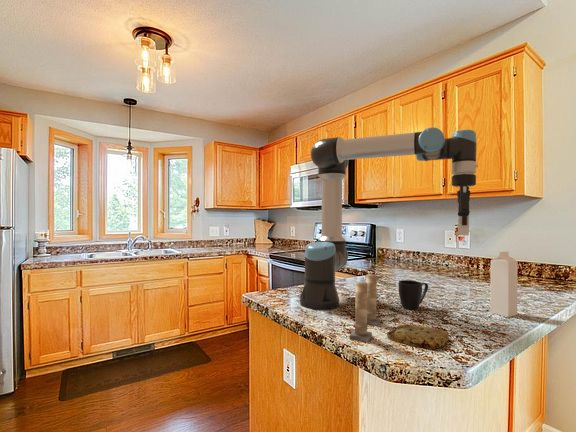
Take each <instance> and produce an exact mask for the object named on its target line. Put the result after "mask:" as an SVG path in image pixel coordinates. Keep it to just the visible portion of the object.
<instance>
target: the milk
mask: <svg viewBox="0 0 576 432" xmlns="http://www.w3.org/2000/svg"><path fill="white" fill-rule="evenodd" d="M518 264H519V263H518V260H516V259H514V258H513V257H512V256H510V255H509V251H500V252H499V256H496V257H494V258H492V259H491V260H490V288H489V289H490V302H489V303H490V307H489V308H490V311H489V312H490V313H491V314H494V315H498V316H503V317H506V318H510V317H514V316H518Z"/></svg>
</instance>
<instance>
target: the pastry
mask: <svg viewBox="0 0 576 432" xmlns="http://www.w3.org/2000/svg"><path fill="white" fill-rule="evenodd" d="M386 337H387V339H388V340H390V341H393V342H396V343H402V344H404V345H407V346H411V347H416V348H426V350H431V351H432V350H435V349H439V348H441V347H444V346H445V345H446V343H447V342H448V341H449V340H450V335H449V334H448V332H446V331H444V330H442V329H439V328H437V327H436V328H435V327H431V326H425V325H415V324H409V323H408V324H407V323H406V324H400V325H398V326H396V327H394V328H393V329H392V330H390V331H388V332H387V333H386Z"/></svg>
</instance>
